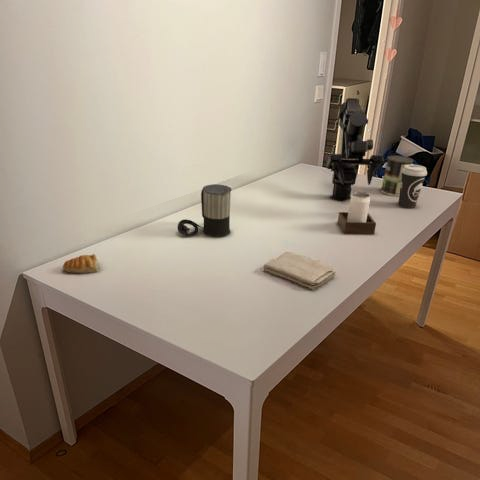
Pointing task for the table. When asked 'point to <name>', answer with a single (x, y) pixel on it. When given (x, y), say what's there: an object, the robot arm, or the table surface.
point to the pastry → (82, 264)
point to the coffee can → (394, 174)
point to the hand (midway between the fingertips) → (356, 184)
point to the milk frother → (212, 212)
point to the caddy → (356, 225)
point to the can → (358, 207)
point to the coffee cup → (411, 185)
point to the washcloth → (300, 269)
